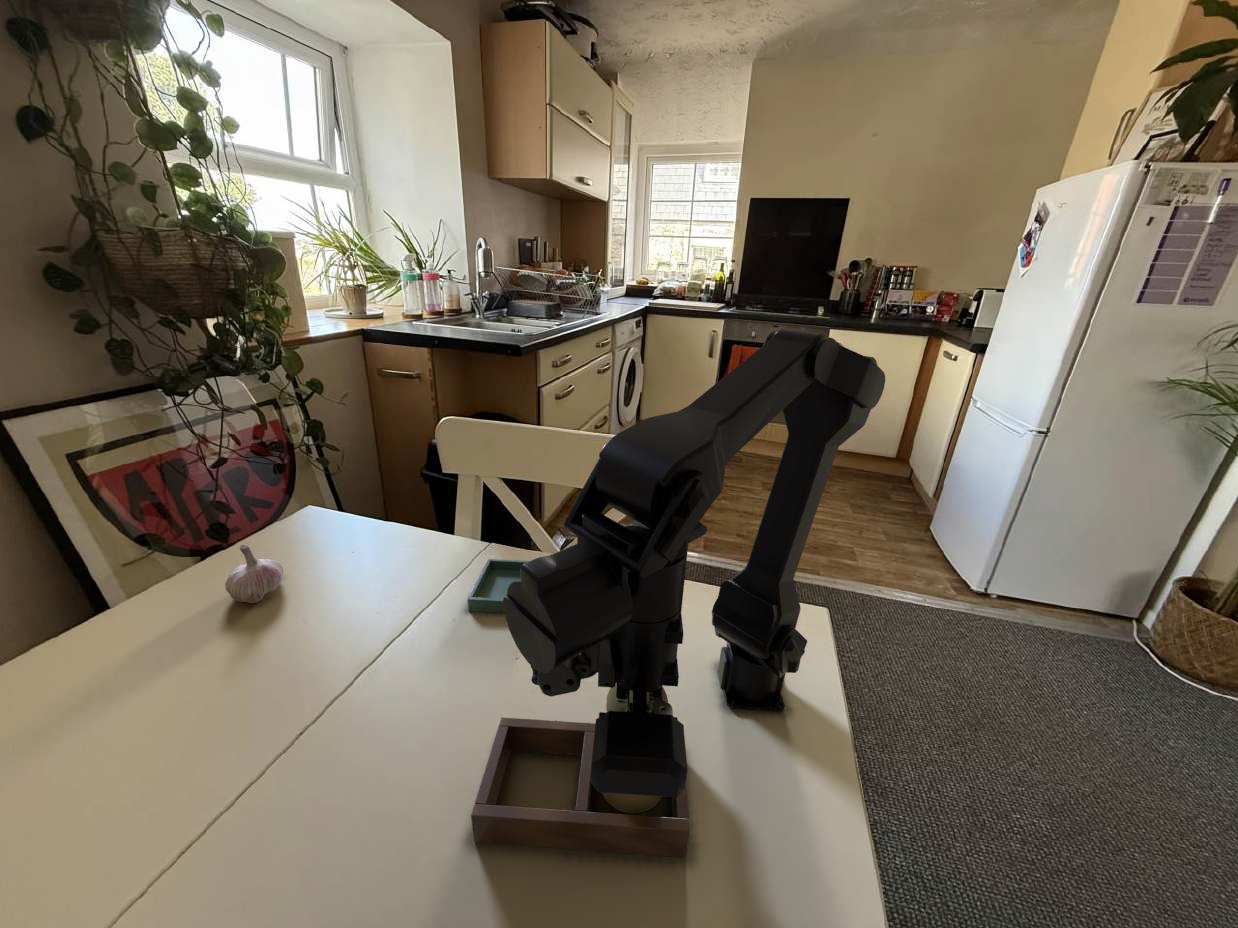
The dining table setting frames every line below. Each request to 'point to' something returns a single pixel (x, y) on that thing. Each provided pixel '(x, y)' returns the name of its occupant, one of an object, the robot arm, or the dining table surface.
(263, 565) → the garlic bulb
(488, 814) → the divided wooden box
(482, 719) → the dining table surface
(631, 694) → the tan pawn
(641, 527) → the robot arm
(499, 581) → the tray
